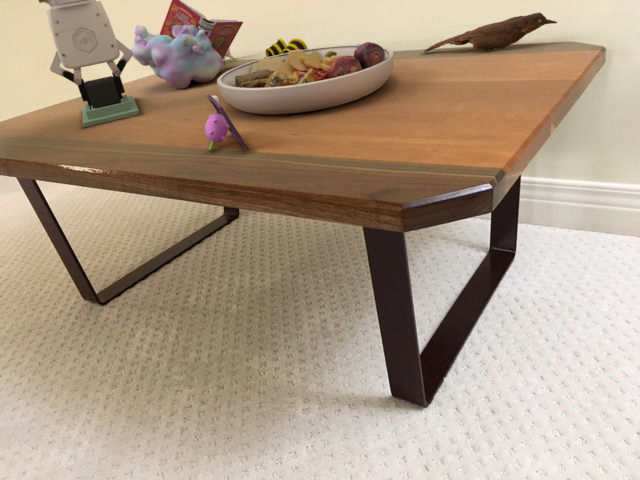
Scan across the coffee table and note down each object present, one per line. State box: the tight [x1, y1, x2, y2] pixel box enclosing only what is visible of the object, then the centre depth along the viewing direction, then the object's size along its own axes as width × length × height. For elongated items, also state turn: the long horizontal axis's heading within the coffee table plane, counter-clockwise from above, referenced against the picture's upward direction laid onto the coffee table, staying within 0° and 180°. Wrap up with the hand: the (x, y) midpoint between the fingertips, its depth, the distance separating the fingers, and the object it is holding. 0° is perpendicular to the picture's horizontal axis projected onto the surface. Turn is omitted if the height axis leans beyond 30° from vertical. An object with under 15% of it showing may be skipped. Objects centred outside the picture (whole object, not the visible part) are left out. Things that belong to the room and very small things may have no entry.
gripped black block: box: [84, 75, 120, 108], centre depth 101 cm, size 5×6×4 cm
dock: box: [82, 94, 141, 128], centre depth 104 cm, size 10×16×5 cm, turn 22°
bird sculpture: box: [423, 12, 558, 54], centre depth 103 cm, size 7×25×5 cm, turn 68°
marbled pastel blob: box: [130, 0, 244, 89], centre depth 118 cm, size 20×22×18 cm
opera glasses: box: [264, 37, 309, 57], centre depth 123 cm, size 10×5×5 cm, turn 44°
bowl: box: [216, 41, 395, 115], centre depth 92 cm, size 30×30×8 cm
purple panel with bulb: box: [204, 93, 249, 152], centre depth 73 cm, size 7×5×9 cm
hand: (105, 100), depth 102 cm, fingers closed on gripped black block, 4 cm apart
